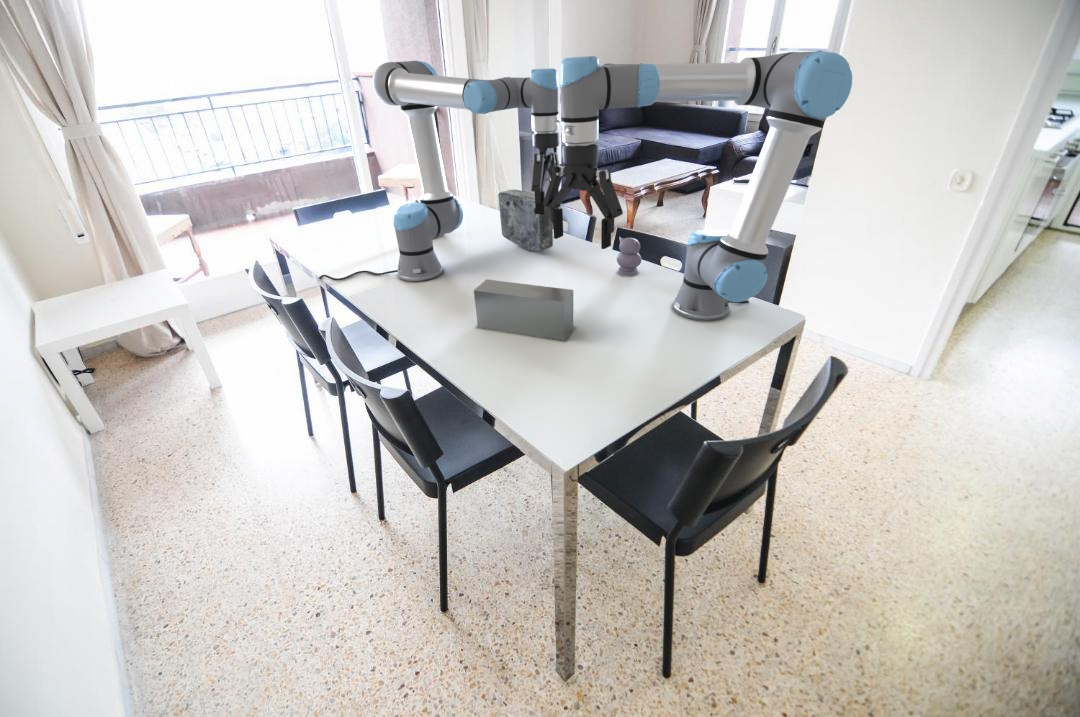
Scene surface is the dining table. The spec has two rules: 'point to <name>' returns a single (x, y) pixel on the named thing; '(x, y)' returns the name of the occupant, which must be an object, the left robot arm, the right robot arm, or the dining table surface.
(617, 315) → the dining table surface
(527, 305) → the box
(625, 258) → the cat figurine
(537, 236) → the concrete block
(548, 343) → the dining table surface
